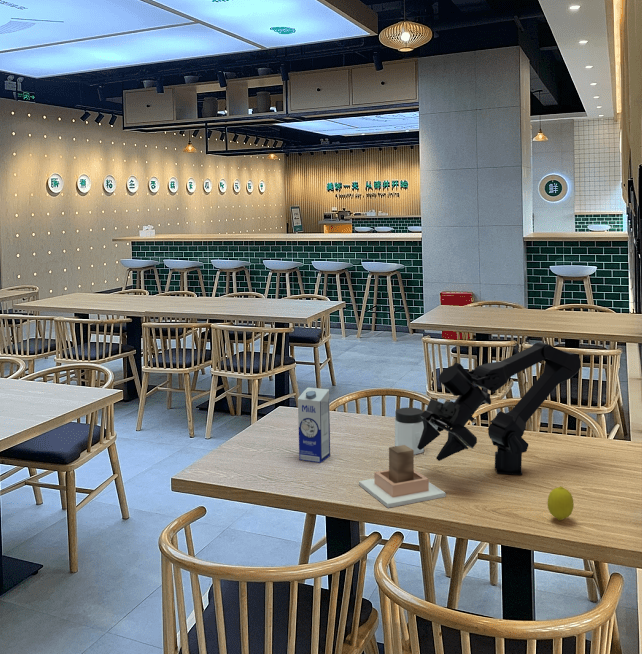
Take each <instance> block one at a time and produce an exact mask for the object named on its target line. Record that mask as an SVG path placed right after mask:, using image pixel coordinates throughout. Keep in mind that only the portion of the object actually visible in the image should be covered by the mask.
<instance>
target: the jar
mask: <svg viewBox="0 0 642 654" xmlns="http://www.w3.org/2000/svg"><path fill="white" fill-rule="evenodd" d="M423 412H424V410H423V409H421V408H416V407H400V408H397V409H395V417H394V447H395V446H401V445H406V446H407V447H409V448H411V449H413V450H414V456H415V455H418V454H421V453H424V452H425V447H424V448H423V449H421V450H419V449H418V448H417V447H418V444H419V441H420V438H421V435H422V432H423V429H424V426H423V422H422V419H423V418H422V417H421V415H422V413H423Z"/></svg>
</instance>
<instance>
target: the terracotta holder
mask: <svg viewBox="0 0 642 654" xmlns="http://www.w3.org/2000/svg"><path fill="white" fill-rule="evenodd" d="M373 474H374V477H373V478H369V479H364V480H359V481H358V485H359V486H360V487H361V488H362V489H363V490H364V491H366V492H367V493H369V495H371V496H372V497H373V498H374V499H376V500H377V501H378V502H380V503H381V504H382V505H383V506H385V507H386V508H387V509H389V508H394V507H400V506H404V505H405V506H406V505H411V504H414V503H419V502H421V503H422V502H425V501H429V500H430V501H431V500H435V499H441V498H445V497H446V496H447V495H446V492H445V491H443V490H442V489H440V488H439V487H437V486H436V485H434V484H433V483H431V482H430V479H429V478H428V477H426V476H425V475H423V474H422V473H420V472H418V471H417V470H416V469H414V480H411V481H406V482H400V483H393V482H392V481H390V480H389V469H385V470H377V471H374V473H373Z"/></svg>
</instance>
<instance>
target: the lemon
mask: <svg viewBox="0 0 642 654" xmlns="http://www.w3.org/2000/svg"><path fill="white" fill-rule="evenodd" d="M547 509H548V511H549V513H550V515H551V516H552V517H553V518H556V519H557V520H558V521H560V520H561V521H563V520H564V519H566V518H568V517H570V516H571V515H572V512H573V509H574V499H573V495H572V493H571V492H570V491H569V490H568V489H567V488H565V487H563V486H558V487H555V488H553V489H552V490H551V491H550V492H549V495H548V498H547Z"/></svg>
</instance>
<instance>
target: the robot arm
mask: <svg viewBox="0 0 642 654" xmlns="http://www.w3.org/2000/svg"><path fill="white" fill-rule="evenodd" d="M541 362H544V365H543V372H542V374H540V376H539V377H538V378H537V380H535V382H534V383H533V384H532V385H531V386H530V388H529V389H528V390H527V391H526V392H525V394H523V396H522V397H521V398H520V400H519V401H518V402H517V403H516V404H515V405H514V407H513V408H511V410H510V411H508V412H504V411H498V413H497V414H496V415H495V417H494V418H493V419H492V420H490V421H489V422H490V424H489V426H488V428H487V431H488V432H487V434H488V438H489V439H490V440H491V443H492V445H493V446H495V447H497V450H496V451H494V469H495V470H496V474H501V475H518V476H521V475H523V471H522V469H523V468H522V462H523V460H522V459H523V455H522V454H523V453H527V451H528V448H529V443H528V442H527V441H526V440H525V439H524V438H523V435H525V431H526V430H525V429H526V424H527V422H528V421H529V420H530V418H531V417H532V416H533V415H534V413H536V411H537V410H538V409H539V408H540V407H541V405H543V403H544V402H545V401H546V399H547V398H548V397H549V396H550V395H551V394H552V392H553V391H554V390H555V389H556V387H557V386H558V385H559V384H561V383H563V382H566V381H568V380H570V379H571V378H573V377H574V376H575V375H576V374H578V372H579V371H580V369H581V368H582V365H581V363H582V362H581V358H580V356H579V355H578V354H577V353H574V352H570V351H567V350H566V351H565V350H561V349H558V348H556V347H554V346H553V345H551V344H549V343H545V342H540V341H538V342H535V343H534V344H533V345H532V346H529V347H527V348H525V349H523V350H521V351H519V352H517V353H515V354H513V355H511V356H509V357H507V358H505V359H503V360H499V361H494V362H486V363H483V364H480V365H477V366H476V367H475V368H474V369H473V370H470V371H469V370H468V371H466V369H465V367H464V366H463V365H462V364H461V363H459V362H454V364H453V365H450V366H448V367H446V368H445V369H443V370H441V372H440V374H439V376H438V381H439V382H440V383H441V384H442V385H443V387H444V388H446V389H447V390H448V391H449V392H450V394H452V395H453V397H457V398H456V399H455V400H454V401H452V400H450V401H444V402H441V401H439V400H436V399H433V398H430V399H429V401H428V405H427V407H426V410H423V413H422V415H421V417H422V418H423V419H422V422H423V426H424V429H423V432H422V435H421V438H420V441H419V444H418V447H417V448H418V449H419V450H421V449H423V448H424V449H425V447H427V446H428V445H429V444H431V443H432V442H433V441H434V440H436V438H438V437H439V436H441V433H440V432H443V431H446V432H448V433H447V441H446V442H445V443H444V445H443V447H442V448H441V449H440V451H439V452H438V453H437V456H436V460H437V461H439V462H440V461H442V460H445V459H446V458H448V457H451V456H452V455H455V454H456V453H460V452H461V451H462V452H463V450H469V448H470V449H474V448H475V446H476V444H477V443H478V437H477V436H476V435H475V434H473V433H472V432H471V430H470V429H469V428H467V426H466V424H468V422H469V421H470V422H474V420H475V417H474V416H473V415H474V414H475V413H476V411H477V410H479V408H480V406H481V405H482V404H483V403H484V404H487V405H491V404H492V399H491V394H490V393H489V392H486V391H483V390H482V389H485V390H487V391H490V392H496V391H499V389H501V388H502V387H503V386H504V385H506V384H507V383H508V381H509V380H510V379H511V378H512V377H513V376H514V375H517V374H519V373H521V372H522V371H524V370H527V369H529V368H531V367H533V366H535V365H536V364H539V363H541ZM473 384H475V385H476V386H474V385H473ZM481 388H482V389H481Z"/></svg>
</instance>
